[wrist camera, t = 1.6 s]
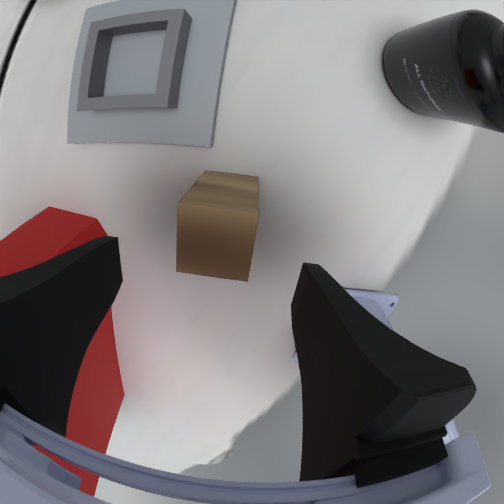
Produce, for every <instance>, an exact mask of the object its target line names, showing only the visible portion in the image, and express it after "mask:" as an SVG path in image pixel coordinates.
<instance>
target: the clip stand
mask: <svg viewBox="0 0 504 504" xmlns="http://www.w3.org/2000/svg"><path fill="white" fill-rule="evenodd" d="M235 5H236V0H119V1H115V2H110V3H106V4H102V5H98V6H95V7H91V8H88V9H86V13H85V16H84V20H83V24H82V28H81V32H80V36H79V41H78V45H77V50H76V56H75V61H74V67H73V74H72V81H71V90H70V100H69V113H68V136H67V144H71V143H98V142H134V143H162V144H179V145H192V146H203V147H211V146H212V145H213V137H214V129H215V121H216V114H217V107H218V100H219V93H220V87H221V80H222V74H223V68H224V62H225V56H226V51H227V45H228V40H229V34H230V29H231V24H232V19H233V14H234V10H235Z"/></svg>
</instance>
